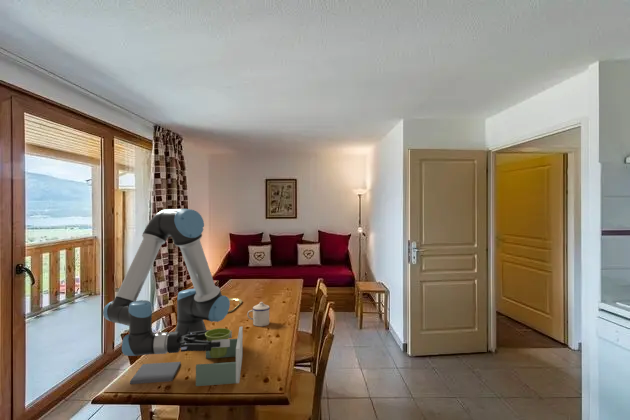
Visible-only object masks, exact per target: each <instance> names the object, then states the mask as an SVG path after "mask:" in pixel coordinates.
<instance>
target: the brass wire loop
mask: <svg viewBox="0 0 630 420" xmlns="http://www.w3.org/2000/svg"><path fill="white" fill-rule="evenodd" d="M228 299H229V301H233V300H235V302H238V301H239V302H238V304H237V305H236V306H235V307H234V308H233V309H232V310H228V313H232V312H233V311H235V309H237V308H238V307H240V305H241V304H242V302H243V300H242V299H241V298H238V297H237V298H235V297H228ZM239 303H240V304H239ZM228 313H227V314H228Z"/></svg>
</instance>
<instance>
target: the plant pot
mask: <svg viewBox="0 0 630 420" xmlns="http://www.w3.org/2000/svg"><path fill="white" fill-rule="evenodd" d="M208 330H209V331H207V332H206V333H205V336H206V338H207V341H211V342H212V340H220V339H229V338H228V337H229V334H230V333H231V330H230V329H229V328H224V327H223V328H222V327H219V328H211V329H208ZM209 352H210V356H211V357H212V358H211V359H218V358H219V357H222V358H224V357H223V356H225V355H226V354H227V347H220V348H211V351H209Z"/></svg>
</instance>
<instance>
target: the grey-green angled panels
mask: <svg viewBox="0 0 630 420" xmlns="http://www.w3.org/2000/svg"><path fill="white" fill-rule="evenodd" d="M243 328H244V327H243V326H239V329H238V334H237V338H229V339H230V347H227V354H226V355H225V356H223V357H219V358H235V361H231V362H228V361H227V362H215V363H214V362H213V363H199V364H198V363H197V364H195V387H202V386H203V387H205V386H215V385H217V386H219V385H230V384H240V379H241V371H242V363H243V340H244V339H243ZM205 341H207V340H205ZM205 359H213V358H212V357H211V356H210V352H209V351H205Z"/></svg>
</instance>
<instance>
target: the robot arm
mask: <svg viewBox="0 0 630 420" xmlns="http://www.w3.org/2000/svg"><path fill="white" fill-rule="evenodd" d="M204 227H205V223H204V218H203V217H202V214H201V213H199V212H198V211H197V210H195V209H189V208H166V209H162V210H160V211H159V212H157V213H156V214H155V215H154V216H153V217H152V218H151V219H150V220H149V222H148V223H147V225H146V227H145V229H144V230H143V233H142V235H141V236H142V241H141V243H140V245H139V247H138V249H137V252H136V253H135V255H134V257H133V259H132V261H131V264H130V265H129V267H128V270H127V272H126V274H125V277H124V279H123V280H122V283H121V285H120V286H119V289H118V291H117V293H116V295H115V297H114V299H113V300H112V301H110V302H108V303H107V304H106V305H105V306H104V308H103V311H102V316H103V318H104V319H105V320H107V321H109V322H112V323H114V324H115V323H116V324H121V325H123V326H127V327H128V331H129V332H128V334H126V335H125V336H124V337H123V338H122V343H121V352H122V355H124V356H127V357H128V356H130V357H131V356H133V357H134V356H135V357H138V356H146V355H147V356H149V355H164V354H165V355H167V353H168V354H175V353H177V354H178V353H179V352H206V351H211V348H220V347H230V339H233V338H232V336H233V333H232V332H233V331H232V330H230V331H231V333H230V334H229V337H228V339H220V340H212V342H211V341H206V340H207V338H206V336H205V333H206V332H207V331H209V330H210V329H207V327H206V325H205V321H208V322H212V323H213V322H217V323H219V322H221V321H222V320H224V318H226V316H227V315H228V311H230V310H229V309H230V305H231V304H230V303H231V300H229V299H228V298H229V297H228V296H226V295H223V294H222V291H221V289H220V287H219V286H216V285H215V281H214V278H213V275H212V272H211V269H210V267H209V264H208V260H207V257H206V254H205V251H204V249H203V246H202V243H201V239H202V237H203V232H204ZM169 237H171V239H172V241H173V245H174V246H175V247H178V248H179V249H180V252H181V255H182V257H183V261H184V263H185V266H186V268H187V271H188V274H189V277H190V280H191V283H192V286H193V288H188V289H184V290H181V291H178V293H177V299H176V307H177V308H176V309H177V310H176V311H177V312H176V313H177V314H176V315H177V317H176V318H177V324H176V325H175V326H176V327H175V330H174V331H170V332H168V331H165V332H162V331H159V332H153V329H152V328H153V327H152V325H153V324H152V323H153V321H152V319H153V317H152V315H153V311H152V310H153V309H152V303H151V301H150V300H143V299H142V300H138V297H139V296H140V293H141V291H142V289H143V286H144V285H145V282H146V280H147V278H148V275H149V273H150V271H151V269H152V266H153V265H154V263H155V260H156V258H157V256H158V253H159V251H160V249H161V247H162V245H164V244H166V241H167V240H168V238H169Z"/></svg>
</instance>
